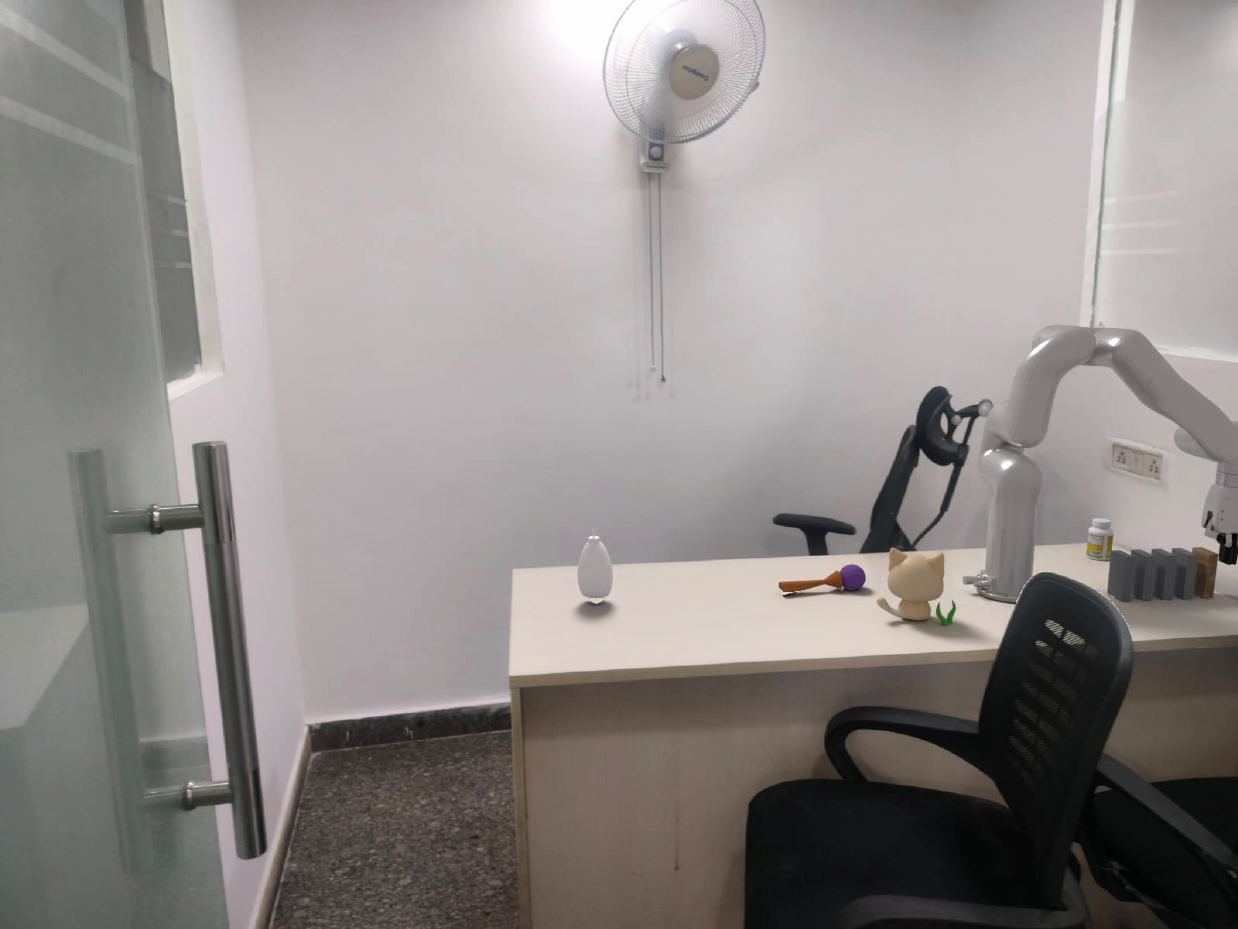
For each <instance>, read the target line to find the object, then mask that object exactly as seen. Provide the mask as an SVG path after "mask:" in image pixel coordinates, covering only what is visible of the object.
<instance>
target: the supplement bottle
mask: <svg viewBox="0 0 1238 929" xmlns="http://www.w3.org/2000/svg"><path fill="white" fill-rule="evenodd" d="M1091 525H1092V526H1091V527H1089V528H1088V531H1087V544H1086V545H1087V546H1086V557H1087V558H1089V559H1090V558H1091V560H1094V561H1104V562H1105V561H1110V556H1111V550H1113V541H1114V531H1113V529H1112V528H1111V526H1112V520H1110V519H1107V518H1100V517H1099V518H1095V517H1094V518H1093V519H1092V522H1091Z"/></svg>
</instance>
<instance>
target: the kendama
mask: <svg viewBox="0 0 1238 929" xmlns="http://www.w3.org/2000/svg"><path fill="white" fill-rule="evenodd" d="M866 580H867V577H866V572H865V571H864V569H863V568H861V567H860V566H859V565H857V564H854V563H853V564H846V565H844V566H842V567H841V569H840V570H835V571H834V572H832V573H831V574H830V575H828V576H827V577H824V579H813V580H812V579H811V580H793V581H792V580H790V581H779V582H778V589H779V588H780V589H781V590H782V591H783V592H795V591H800V592H802V591H801V590H803V591H806V590H809V589H815V588H817V587H820V586H829V587H832V588H835V587H836V588H837V589H839V588H840V589H843V588H844V587H845V588H847V589H858V590H860V589H861V588H863V587H864V585H865V583H866ZM845 588H844V589H845ZM840 589H839V590H840ZM847 589H846V590H847Z"/></svg>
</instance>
